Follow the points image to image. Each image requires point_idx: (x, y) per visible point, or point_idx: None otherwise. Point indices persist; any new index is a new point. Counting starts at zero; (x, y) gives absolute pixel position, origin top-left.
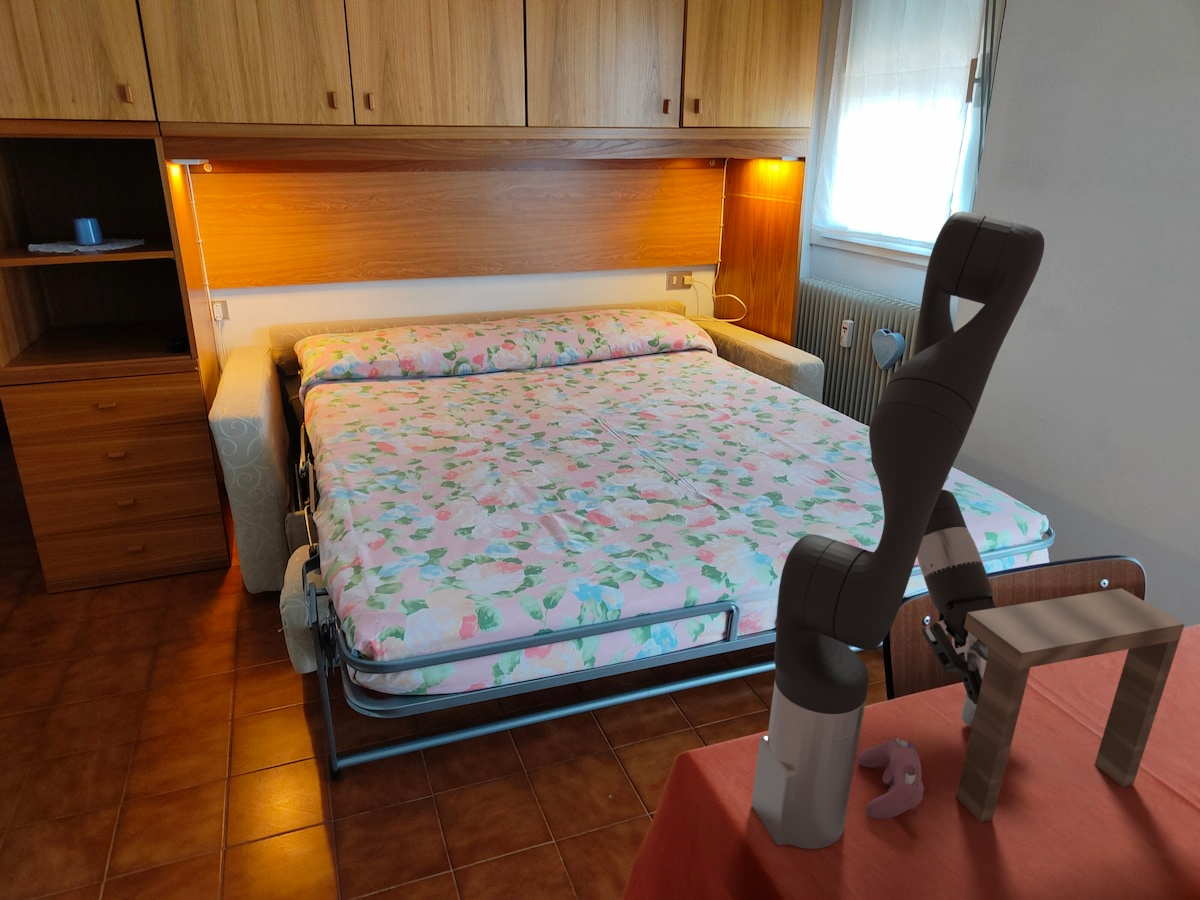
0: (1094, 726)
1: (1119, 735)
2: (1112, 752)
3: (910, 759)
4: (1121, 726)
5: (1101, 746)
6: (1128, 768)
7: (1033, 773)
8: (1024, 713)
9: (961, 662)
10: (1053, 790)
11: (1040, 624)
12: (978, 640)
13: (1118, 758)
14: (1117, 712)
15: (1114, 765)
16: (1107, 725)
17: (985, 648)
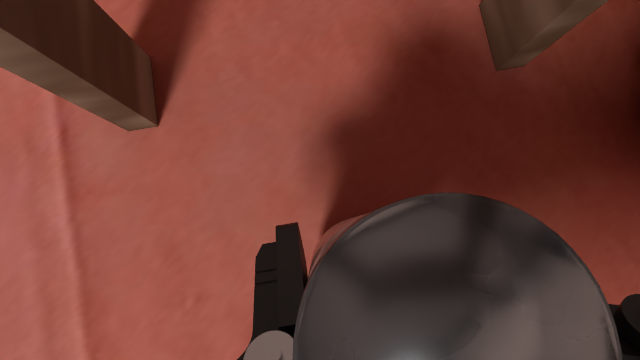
0: (52, 251)
1: (80, 34)
2: (121, 71)
3: None
4: (56, 14)
5: (128, 103)
6: (121, 30)
7: (316, 113)
8: (199, 319)
9: (636, 322)
10: (305, 64)
11: None
12: None
13: (121, 55)
14: (25, 16)
15: (136, 69)
16: (81, 75)
17: (580, 348)
